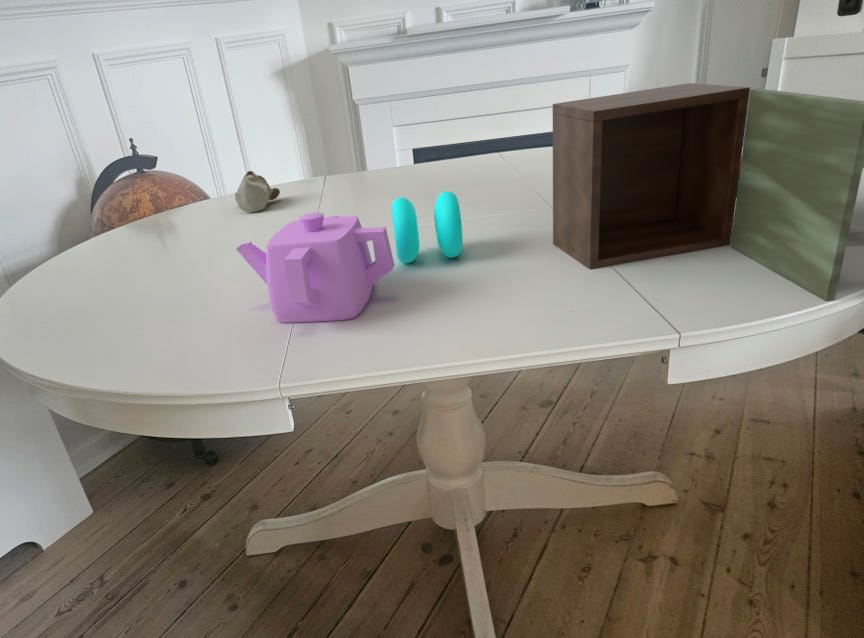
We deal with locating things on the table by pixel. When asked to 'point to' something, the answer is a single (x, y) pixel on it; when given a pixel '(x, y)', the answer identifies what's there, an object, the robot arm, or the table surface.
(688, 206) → the cupboard
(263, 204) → the ceramic sculpture
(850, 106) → the cupboard door
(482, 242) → the table surface
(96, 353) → the table surface
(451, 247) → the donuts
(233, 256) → the table surface
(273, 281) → the teakettle
